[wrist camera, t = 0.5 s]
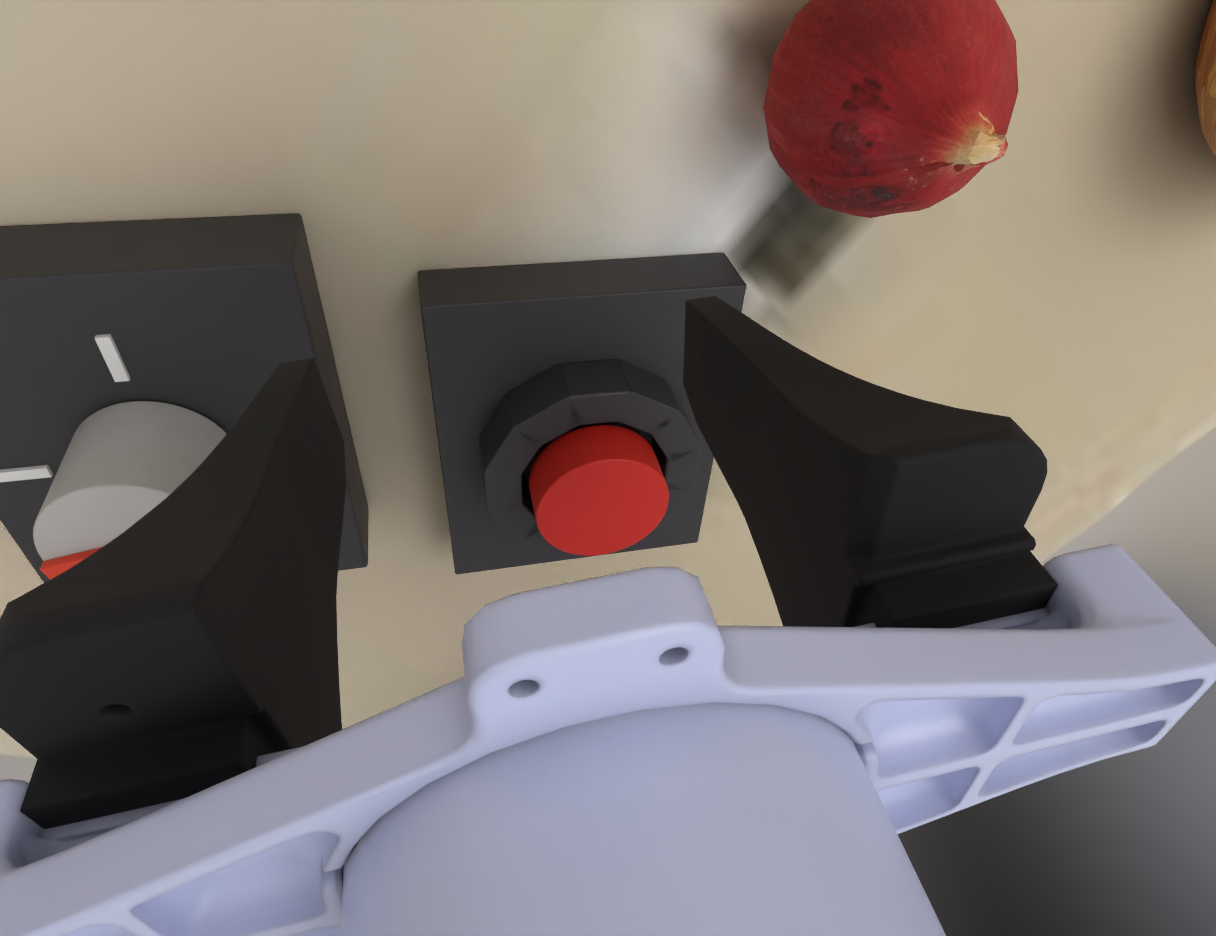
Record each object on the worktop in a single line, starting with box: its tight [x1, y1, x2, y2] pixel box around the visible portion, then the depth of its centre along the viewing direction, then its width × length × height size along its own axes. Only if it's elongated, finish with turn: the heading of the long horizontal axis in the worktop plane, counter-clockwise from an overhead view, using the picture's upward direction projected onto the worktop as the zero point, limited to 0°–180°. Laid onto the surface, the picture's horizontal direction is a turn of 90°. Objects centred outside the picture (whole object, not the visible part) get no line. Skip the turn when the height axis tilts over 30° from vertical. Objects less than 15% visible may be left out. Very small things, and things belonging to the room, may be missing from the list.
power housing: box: [418, 253, 746, 574], centre depth 27 cm, size 12×10×4 cm
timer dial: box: [33, 401, 226, 580], centre depth 21 cm, size 4×4×4 cm
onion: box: [763, 0, 1018, 218], centre depth 19 cm, size 6×6×8 cm
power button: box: [529, 425, 669, 556], centre depth 25 cm, size 4×4×2 cm
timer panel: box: [0, 214, 368, 583], centre depth 24 cm, size 12×10×3 cm
